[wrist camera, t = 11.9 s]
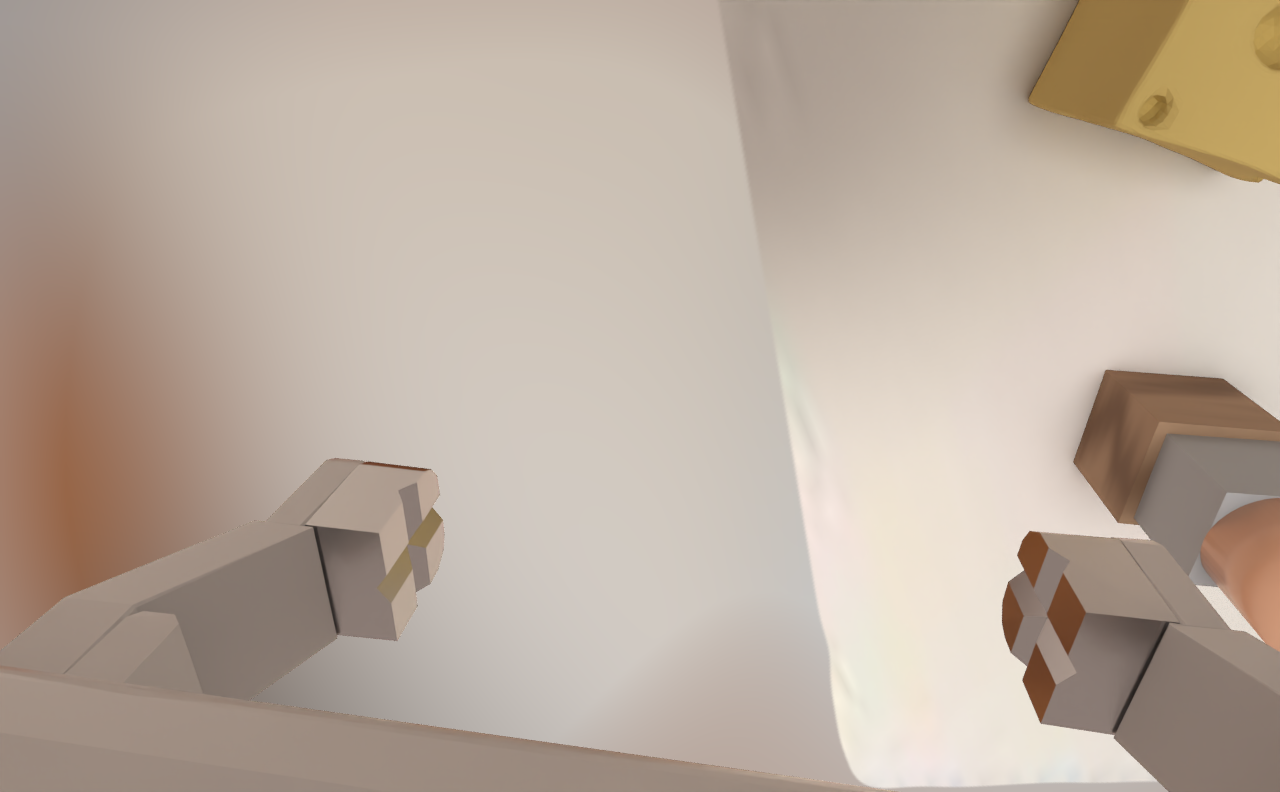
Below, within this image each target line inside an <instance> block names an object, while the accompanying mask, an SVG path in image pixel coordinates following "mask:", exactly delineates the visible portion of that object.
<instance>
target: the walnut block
mask: <svg viewBox="0 0 1280 792" xmlns="http://www.w3.org/2000/svg"><path fill="white" fill-rule="evenodd" d="M1167 434H1181V435H1195V436H1210V437H1224V438H1238V439H1252V440H1267V441H1280V421H1279V420H1277V419H1276V418H1275V417H1273V416H1272V415H1271V414H1269V413H1268V412H1267V411H1265V410H1264V409H1263V408H1261V407H1260V406H1259V405H1257V404H1256V403H1255V402H1253V401H1252V400H1251V399H1249V398H1248V397H1247V396H1245V395H1244V394H1243V393H1241V392H1240V391H1239V390H1237V389H1236V388H1235V387H1233V386H1232V385H1231V384H1229V383H1228V382H1227V381H1225V380H1224V379H1220V378H1206V377H1193V376H1180V375H1167V374H1154V373H1140V372H1127V371H1114V370H1106V371H1105V374H1104V377H1103V379H1102V382H1101V385H1100V388H1099V391H1098V394H1097V396H1096V399H1095V402H1094V405H1093V408H1092V411H1091V413H1090V416H1089V419H1088V422H1087V425H1086V428H1085V430H1084V433H1083V436H1082V439H1081V442H1080V445H1079V447H1078V450H1077V453H1076V456H1075V459H1074V461H1073V462H1074V464H1075V465H1076V466H1077V468H1078V469H1079V470H1080V472H1081V473H1082V474H1083V476H1084V477H1085V479H1086V480H1087V481H1088V483H1089V484H1090V485H1091V487H1092V488H1093V489H1094V491H1095V492H1096V493H1097V495H1098V496H1099V498H1100V499H1101V500H1102V502H1103V503H1104V504H1105V506H1106V507H1107V508H1108V510H1109V511H1110V512H1111V514H1112V515H1113V516H1114V518H1115V519H1116V521H1117V522H1118V523H1124V524H1134V525H1139V524H1138V523H1137V521H1136V520H1135V519H1134V516H1135V513H1136V511H1137V508H1138V506H1139V503H1140V501H1141V498H1142V496H1143V493H1144V491H1145V488H1146V485H1147V483H1148V480H1149V478H1150V475H1151V473H1152V470H1153V468H1154V465H1155V463H1156V460H1157V457H1158V455H1159V452H1160V450H1161V447H1162V445H1163V442H1164V440H1165V437H1166V435H1167Z"/></svg>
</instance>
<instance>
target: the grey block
mask: <svg viewBox="0 0 1280 792" xmlns="http://www.w3.org/2000/svg"><path fill="white" fill-rule="evenodd" d="M1271 498H1280V441H1267V440H1252V439H1238V438H1224V437H1210V436H1195V435H1181V434H1167V435H1166V437H1165V440H1164V442H1163V445H1162V447H1161V450H1160V452H1159V455H1158V457H1157V460H1156V463H1155V465H1154V468H1153V470H1152V473H1151V475H1150V478H1149V480H1148V483H1147V485H1146V488H1145V491H1144V493H1143V496H1142V498H1141V501H1140V503H1139V506H1138V508H1137V511H1136V513H1135V516H1134V519H1135V520H1136V521H1137V523H1138V524H1139V525H1140V526H1141V528H1142V529H1143V530H1144V532H1145V533H1146V534H1147V535H1148V537H1149V538H1150V539H1151V540H1153V541H1155V542H1157V543H1159V544H1161V545H1163V546H1164V547H1165V548H1166V549H1167V551H1168V552H1169V553H1170V554H1171V556H1172V557H1173V558H1174V559H1175V561H1176V562H1177V563H1178V564H1179V566H1180V567H1181V568H1182V569H1183V571H1184V572H1185V573H1186V574H1187V576H1188V577H1189V578H1190V579H1191V581H1192V582H1193V583H1194V584H1195V585H1202V586H1213V587H1218V586H1217V585H1216V584H1215V582H1214V581H1213V580H1212V579H1211V578H1210V576H1209V575H1208V574H1207V573H1206V571H1205V570H1204V568H1203V566H1202V563H1201V558H1200V550H1201V546H1202V543H1203V540H1204V538H1205V537H1206V535H1207V533H1208V532H1209V531H1210V529H1211V528H1212V527H1213V526H1214V525H1215V524H1216V523H1217V522H1218V521H1219V520H1220V519H1222V518H1223V517H1224V516H1226V515H1227V514H1229V513H1230V512H1232V511H1234V510H1236V509H1237V508H1239V507H1242V506H1244V505H1247V504H1249V503H1252V502H1256V501H1260V500H1264V499H1271Z"/></svg>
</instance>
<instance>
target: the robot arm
mask: <svg viewBox="0 0 1280 792" xmlns="http://www.w3.org/2000/svg"><path fill="white" fill-rule="evenodd" d="M439 495H440V491H439V486H438V479H437V475H436V474H435V473H434V472H433V471H432V470H431V469H425V468H417V467H409V466H401V465H392V464H384V463H376V462H364V461H360V460H350V459H339V458H334V459H329V460H326V461H325V462H324V463H323V464H322V465H321V466H320V467H319V468H318V469H317V470H316V471H315V472H314V473H313V474H312V475H311V476H310V477H309V478H308V479H307V480H306V481H305V482H304V483H303V484H302V485H301V486H300V487H299V488H298V489H297V490H296V491H295V492H294V493H293V494H292V495H291V496H290V497H289V498H288V499H287V500H286V501H285V502H284V503H283V504H282V506H280V507H279V508H278V509H277V511H275V513H273V514H272V516H270V518H269V519H267V521H252V522H250V523H248V524H245V525H242V526H240V527H237V528H235V529H232V530H230V531H228V532H225V533H223V534H220V535H218V536H215V537H213V538H210V539H208V540H205V541H203V542H201V543H198V544H195V545H193V546H190V547H188V548H186V549H183V550H181V551H178V552H176V553H173V554H171V555H168V556H166V557H163V558H161V559H158V560H156V561H153V562H151V563H149V564H146V565H144V566H141V567H139V568H136V569H134V570H131V571H129V572H126V573H124V574H121V575H119V576H116V577H114V578H111V579H109V580H107V581H104V582H101V583H99V584H97V585H94V586H92V587H89V588H87V589H84V590H82V591H79V592H77V593H74V594H72V595H69V596H67V597H65V598H63V599H62V600H61V601H59V602H58V603H57V604H56V605H55V606H54V607H52V608H51V609H50V610H49V611H47V612H46V613H45V614H44V615H43V616H41V617H40V618H39V619H38V620H37V621H35V622H34V623H33V624H32V625H31V626H29V627H28V628H27V629H26V630H24V631H23V632H22V633H21V634H20V635H18V636H17V637H16V638H15V639H14V640H12V641H11V642H10V643H9V644H8V645H6V646H5V647H4V648H3V649H2V650H0V792H898V791H891V790H884V789H877V788H870V787H863V786H856V785H849V784H841V783H834V782H828V781H821V780H814V779H806V778H800V777H792V776H785V775H778V774H771V773H764V772H757V771H749V770H742V769H735V768H728V767H720V766H714V765H706V764H699V763H692V762H685V761H678V760H671V759H663V758H656V757H649V756H642V755H634V754H627V753H620V752H613V751H606V750H599V749H591V748H584V747H578V746H570V745H563V744H556V743H549V742H542V741H535V740H527V739H520V738H513V737H506V736H499V735H492V734H485V733H478V732H470V731H463V730H456V729H449V728H442V727H434V726H428V725H420V724H413V723H406V722H399V721H392V720H385V719H378V718H371V717H364V716H357V715H349V714H342V713H335V712H328V711H321V710H314V709H307V708H300V707H292V706H285V705H278V704H271V703H263V702H256V701H250V699H252V698H253V697H255V696H256V695H257V694H259V693H260V692H262V691H263V690H264V689H266V688H267V687H269V686H270V685H271V684H273V683H274V682H276V681H277V680H279V679H280V678H282V677H283V676H284V675H286V674H287V673H289V672H290V671H291V670H293V669H294V668H296V667H297V666H299V665H300V664H301V663H303V662H304V661H306V660H307V659H308V658H310V657H311V656H312V655H314V654H315V653H317V652H318V651H320V650H321V649H323V648H324V647H325V646H327V645H328V644H330V643H331V642H333V641H334V640H335V639H337V635H343V636H353V637H364V638H373V639H384V640H394V641H397V640H398V639H399V637H400V635H401V634H402V632H403V630H404V629H405V627H406V625H407V623H408V622H409V620H410V618H411V617H412V615H413V613H414V611H415V610H416V608H417V606H418V605H417V597H416V592H417V591H419V590H420V589H422V588H424V587H425V586H427V585H429V584H430V583H431V582H432V580H433V578H434V576H435V574H436V572H437V571H438V569H439V565H440V561H441V558H442V554H443V550H444V526H443V520H442V518H441V517H440V516H439V515H438V514H437V513H436V511H435V510H434V509H433V508H432V506H433V505H434V503H435V502H436V500H437V499H438V497H439ZM1017 556H1018V558H1019V560H1020V562H1021V564H1022V566H1023V568H1024V571H1023V572H1021V573H1020V574H1018V575H1017V576H1016V577H1014V578H1013V579H1011V580H1010V581H1009V582H1008V585H1007V588H1006V591H1005V595H1004V598H1003V602H1002V625H1003V630H1004V635H1005V639H1006V642H1007V644H1008V647H1009V649H1010V652H1011V653H1012V654H1013V655H1014V656H1015V657H1017V658H1018V659H1019V660H1020V661H1021V662H1023V663H1024V664H1025V665H1026V666H1027V669H1026V671H1025V674H1024V677H1023V680H1022V681H1023V683H1024V685H1025V688H1026V690H1027V692H1028V695H1029V697H1030V700H1031V702H1032V704H1033V707H1034V709H1035V711H1036V714H1037V716H1038V718H1039V721H1040V723H1041V724H1047V725H1053V726H1060V727H1066V728H1073V729H1079V730H1086V731H1092V732H1099V733H1105V734H1112V735H1115V736H1114V739H1115V740H1116V741H1117V742H1118V743H1119V744H1120V745H1121V746H1122V747H1123V748H1124V749H1125V750H1126V751H1127V752H1128V753H1129V754H1131V755H1132V756H1133V757H1134V758H1135V759H1136V760H1137V761H1138V762H1139V763H1140V764H1141V765H1142V766H1143V767H1144V768H1145V769H1146V770H1147V771H1148V772H1149V773H1150V774H1151V775H1152V776H1153V777H1154V778H1155V779H1156V780H1157V781H1158V782H1159V783H1160V784H1161V785H1162V786H1163V787H1165V789H1167V790H1168V791H1169V792H1280V652H1279V651H1277V650H1276V649H1274V648H1272V647H1271V646H1269V645H1267V644H1265V643H1264V642H1262V641H1260V640H1259V639H1257V638H1255V637H1254V636H1252V635H1250V634H1248V633H1247V632H1244V631H1236V630H1231V629H1230V628H1229V627H1228V625H1227V624H1226V623H1225V622H1224V620H1223V619H1222V618H1221V617H1220V615H1219V614H1218V613H1217V612H1216V610H1215V609H1214V608H1213V607H1212V605H1211V604H1210V603H1209V602H1208V600H1207V599H1206V598H1205V597H1204V595H1203V594H1202V593H1201V592H1200V590H1199V589H1198V588H1197V587H1196V585H1195V584H1194V583H1193V582H1192V581H1191V579H1190V578H1189V577H1188V576H1187V574H1186V573H1185V572H1184V571H1183V569H1182V568H1181V567H1180V566H1179V564H1178V563H1177V562H1176V561H1175V559H1174V558H1173V557H1172V556H1171V554H1170V553H1169V552H1168V551H1167V549H1166V548H1165V547H1164V546H1163V545H1161V544H1159V543H1157V542H1155V541H1153V540H1142V539H1128V538H1114V537H1111V538H1104V537H1093V536H1081V535H1070V534H1058V533H1047V532H1036V531H1029V533H1028V534H1027V535H1026V536H1025V538H1024V539H1023V540H1022V543H1021V546H1020V549H1019V552H1018V555H1017Z"/></svg>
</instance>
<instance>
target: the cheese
mask: <svg viewBox="0 0 1280 792" xmlns="http://www.w3.org/2000/svg"><path fill="white" fill-rule="evenodd" d="M1029 102H1030V103H1031V104H1032V105H1035V106H1037V107H1040V108H1042V109H1044V110H1047V111H1050V112H1053V113H1057V114H1060V115H1064V116H1068V117H1071V118H1075V119H1079V120H1083V121H1086V122H1089V123H1093V124H1096V125H1100V126H1103V127H1107V128H1110V129H1114V130H1117V131H1121V132H1124V133H1128V134H1131V135H1134V136H1137V137H1140V138H1143V139H1146V140H1148V141H1151V142H1153V143H1155V144H1157V145H1159V146H1162V147H1164V148H1167V149H1169V150H1172V151H1175V152H1177V153H1180V154H1182V155H1185V156H1187V157H1189V158H1191V159H1194V160H1196V161H1198V162H1200V163H1202V164H1204V165H1206V166H1208V167H1211V168H1213V169H1215V170H1217V171H1219V172H1221V173H1223V174H1226V175H1228V176H1230V177H1233V178H1236V179H1239V180H1244V181H1249V182H1258V183H1259V182H1260V181H1262V180H1263V179H1267V180H1269V181H1272V182H1275V183H1278V184H1280V0H1079V2H1078V4H1077V6H1076V8H1075V10H1074V12H1073V14H1072V16H1071V18H1070V20H1069V22H1068V24H1067V26H1066V28H1065V30H1064V32H1063V34H1062V36H1061V38H1060V40H1059V42H1058V44H1057V46H1056V47H1055V49H1054V51H1053V53H1052V55H1051V57H1050V59H1049V61H1048V63H1047V64H1046V66H1045V68H1044V70H1043V72H1042V74H1041V76H1040V78H1039V80H1038V81H1037V83H1036V85H1035V87H1034V89H1033V91H1032V93H1031V95H1030V97H1029Z"/></svg>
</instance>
